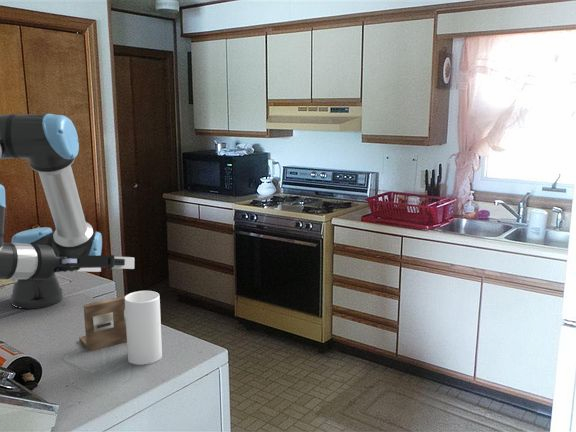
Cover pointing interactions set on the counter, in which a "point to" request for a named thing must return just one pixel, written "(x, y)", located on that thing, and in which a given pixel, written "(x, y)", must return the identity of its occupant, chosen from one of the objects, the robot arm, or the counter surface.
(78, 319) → the counter surface
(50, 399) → the counter surface
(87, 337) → the label board
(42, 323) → the counter surface
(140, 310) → the cup
